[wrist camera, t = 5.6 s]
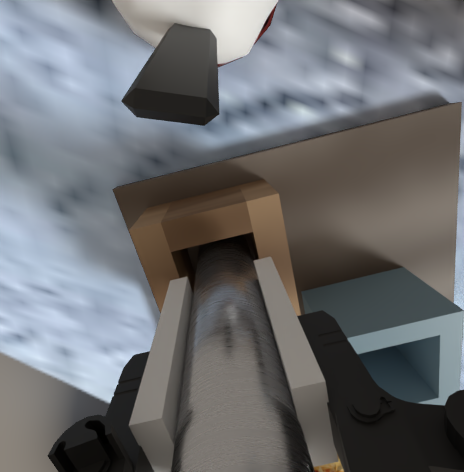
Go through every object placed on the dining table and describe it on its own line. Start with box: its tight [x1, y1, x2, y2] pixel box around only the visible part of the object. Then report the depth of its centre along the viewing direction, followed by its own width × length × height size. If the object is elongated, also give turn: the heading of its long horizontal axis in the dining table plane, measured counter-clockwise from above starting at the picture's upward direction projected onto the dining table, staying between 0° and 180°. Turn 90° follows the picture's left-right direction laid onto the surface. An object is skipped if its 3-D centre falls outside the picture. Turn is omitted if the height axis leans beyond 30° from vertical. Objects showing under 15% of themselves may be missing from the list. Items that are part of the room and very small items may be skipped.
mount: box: [129, 179, 301, 316], centre depth 16 cm, size 7×7×4 cm
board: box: [113, 102, 462, 315], centre depth 20 cm, size 17×20×1 cm
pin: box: [171, 234, 315, 472], centre depth 11 cm, size 3×3×15 cm
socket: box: [301, 267, 464, 405], centre depth 19 cm, size 7×7×5 cm
